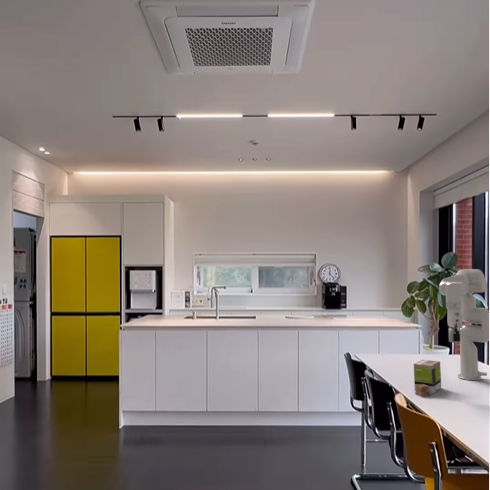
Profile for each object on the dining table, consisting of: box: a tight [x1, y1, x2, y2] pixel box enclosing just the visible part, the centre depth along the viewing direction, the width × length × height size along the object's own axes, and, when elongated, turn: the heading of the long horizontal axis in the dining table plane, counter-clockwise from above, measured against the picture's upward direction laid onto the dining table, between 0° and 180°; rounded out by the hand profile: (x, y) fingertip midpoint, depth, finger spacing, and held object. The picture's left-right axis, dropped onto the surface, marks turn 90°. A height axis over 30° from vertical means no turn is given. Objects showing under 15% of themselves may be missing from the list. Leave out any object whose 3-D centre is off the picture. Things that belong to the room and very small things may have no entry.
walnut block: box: [414, 384, 431, 398], centre depth 240 cm, size 5×5×5 cm
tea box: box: [413, 359, 442, 394], centre depth 251 cm, size 15×10×15 cm, turn 141°
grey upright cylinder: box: [448, 327, 461, 344], centre depth 243 cm, size 6×6×7 cm
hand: (454, 339), depth 243 cm, fingers closed on grey upright cylinder, 5 cm apart
